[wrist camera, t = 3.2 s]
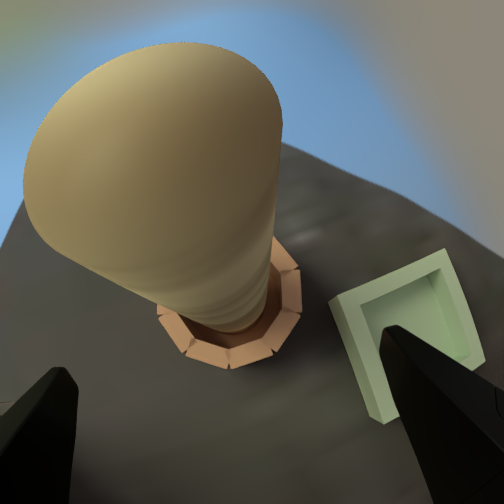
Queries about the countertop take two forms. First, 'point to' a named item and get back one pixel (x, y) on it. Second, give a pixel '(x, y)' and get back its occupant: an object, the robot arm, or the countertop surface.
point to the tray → (405, 323)
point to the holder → (256, 339)
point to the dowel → (165, 179)
